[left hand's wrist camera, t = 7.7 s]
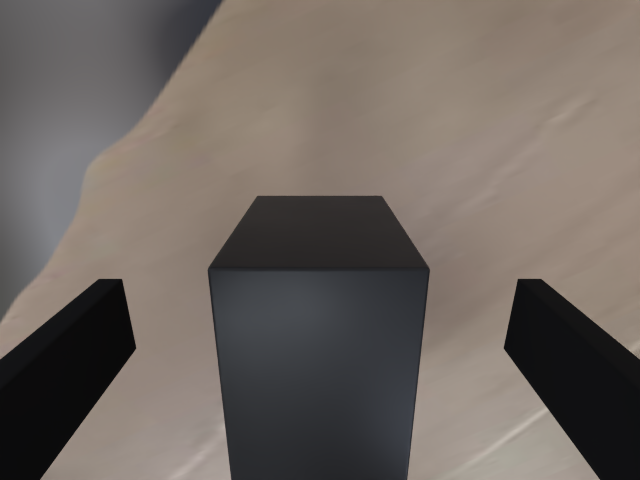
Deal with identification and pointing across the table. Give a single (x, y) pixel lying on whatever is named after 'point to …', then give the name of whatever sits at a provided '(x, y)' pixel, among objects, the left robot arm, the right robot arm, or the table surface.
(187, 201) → the table surface
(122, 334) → the left robot arm
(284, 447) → the bar
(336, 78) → the table surface
